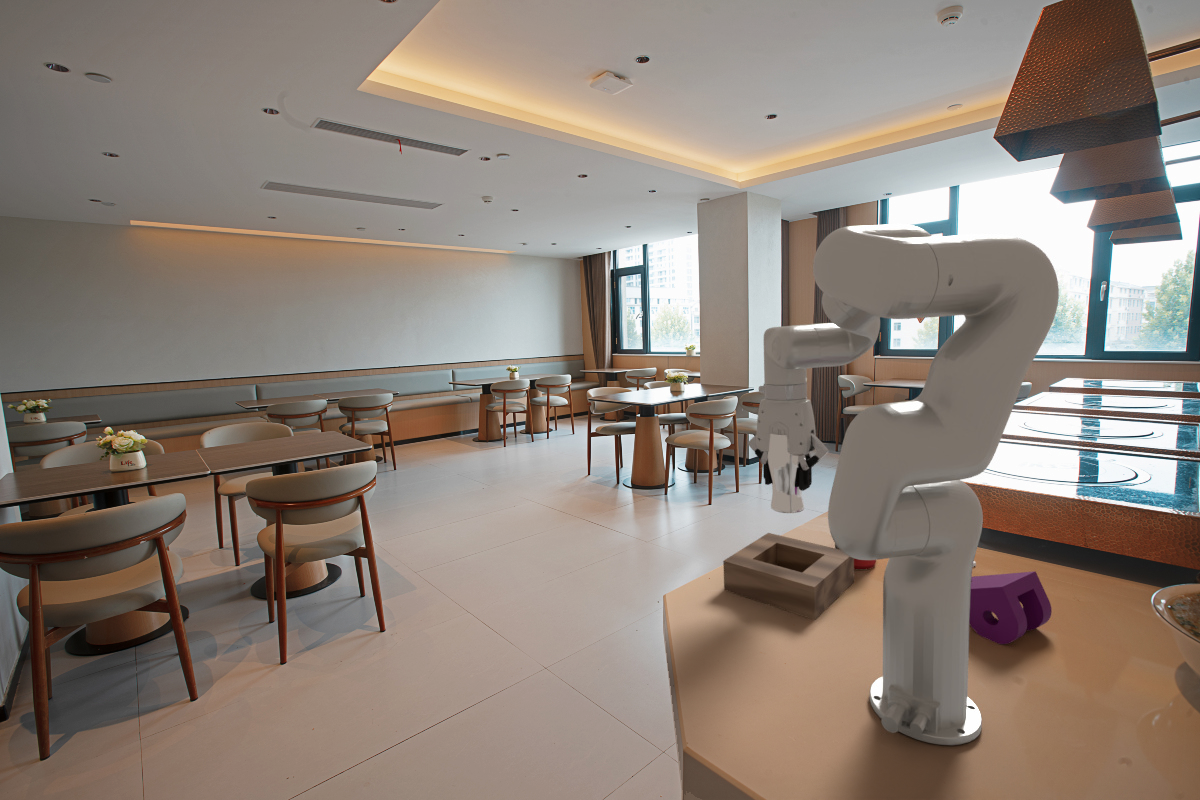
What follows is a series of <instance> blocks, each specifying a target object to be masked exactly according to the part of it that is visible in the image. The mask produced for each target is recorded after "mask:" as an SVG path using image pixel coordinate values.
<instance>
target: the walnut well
mask: <svg viewBox="0 0 1200 800" xmlns="http://www.w3.org/2000/svg"><path fill="white" fill-rule="evenodd" d="M722 562H723V564H722V565H723V587H724V588H723V590H724V591H726V592H729V593H732V594H736V595H739V596H741V597H745V598H747V599H750V600H753V601H757V602H759V601H760V603H763V604H765V605H768V606H770V607H774V608H776V609H777V608H778V609H780V610H783V611H786V612H790V613H792V614H795V615H798V616H802V617H804V618H805V617H806V618H808V619H811V620H815V621H816V620H817V619H818V618H819V617H820V616H821V614H823V613H824V612H825V611H826V610H827V609H828V608H829V607H830V606H831V605H832V604H833V603H835V601H836V600H837V599H838V598H839V597H840V596H841V595H843V593H844V592H845V591H847V590H848V589H849V587H850V586H852V584H854V583H855V569H854V558H852V557H850V556H848V555H846V554H845V553H843V552H842V551H841V550H840V549H836V548H835V547H831V546H827V545H823V544H818V543H814V542H809V541H806V540H800V539H798V538H797V539H796V538H792V537H788V536H785V535H784V536H783V535H780V534H775V533H772V532H771V533H770V532H767V533H766V534H764V535H763V536H761V537H759V538H758V539H756V540H754V541H753V542H751V543H750V544H748V545H746V546H744V547H742V549H740V550H738V551H737V552H735V553H734V554H731V555H730V556H729V557H727V558H725V559H724V560H723V561H722Z"/></svg>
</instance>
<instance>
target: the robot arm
mask: <svg viewBox="0 0 1200 800" xmlns="http://www.w3.org/2000/svg"><path fill="white" fill-rule="evenodd" d="M812 263H813V264H812V266H813V267H812V272H813V277H814V281H815V284H816V285H817V287H818V288H819V290H821V291H822V297H821V306H822V309H823V312H824V313H825V315H826V317H827V318H828V319H829V321H831V322H825V323H824V322H823V323H810V324H797V325H796V324H795V325H787V326H785V325H783V326H772V327H769V328H767V329H766V330H765V331H764V333H763V371H764V372H763V374H764V376H763V377H764V383H763V385H760V386H758V392H759V393H761V394H763V398H764V399H761V400H760V403H759V406H758V412H757V419H756V420H757V421H756V433H755V435H754V436H753V437H751V439H750V440H749V441H748V442H747V445H748V447H750V448H751V450H752V451H753V452H754V454H755V455H756V457H757V458H758V459H759V460H760V463H761V465H763V466H762V467H763V468H762V470H763V479H764V484H765V485H767V486H768V485H769V486H770V485H772V482H771V477H770V472H769V467H768V461H767V452H769V442H770V433H771V434H779V435H787V439H788V440H787V441H788V446H789V454H791V455H793V456H799V462H800V464H801V469H800V470H799V489H800V490H801V492H803V491H806V490H807V489H809V488H810V487H811V485H812V482H813V481H812V479H813V478H812V477H813V475H812V471H813V469H812V468H813V467H815V465H816V464H817V463H819V462H820V461H821V460H822V459H823V458H824V457H825V456H826V455H828V454H829V452H830V450H829V449H828V447H827V445H825V444H824V443H823V442H822V441H821V440H820V439H819V438H818V436H816V435H817V434H816V432H817V431H816V424H815V416H814V410H813V405H812V401H811V399H808V382H807V381H808V374H807V373H808V370H807V369H812V368H813V369H814V368H826V367H827V368H829V367H832V368H833V367H840V366H845V365H848V364H850V363H853V362H854V361H856V360H857V359H859V358H861V357H863V355H865V353H867V352H868V351H870V349H872V348H873V346H874V345H875V344H876V341H877V339H878V336H879V333H880V329H881V318H883V319H891V320H909V319H923V318H927V319H928V318H937V317H938V318H940V317H941V318H942V317H953V316H964V318H965V321H964V322H963V324H961V325H960V326H959V327H958V328H957V329H956V330H955V331H954V332H953V333H952V334H951V335H950V336H949V337H948V338H947V339H946V341H944V343H943V344H942V345H941V346H940V348H939V349H938V351H937V352H936V354H935V355H934V357H933V359H932V360H931V363H930V365H929V369H928V372H927V376H926V379H925V382H924V385H923V388H922V390H921V392H920V394H919V395H918V396H916V397H915V398H914V399H911V400H907V401H899V402H896V401H895V402H887V403H879V404H876V405H872V406H869V407H867V408H865V409H863V410H862V411H860V412H859V413H857V415H855V417H854V418H853V419H852V421H851V422H850V423H849V425H848V427H847V428H846V431H845V434H844V437H843V441H842V446H841V448H840V454H839V457H838V461H837V466H836V470H835V474H834V478H833V483H832V487H831V491H830V496H829V502H828V508H827V521H828V523H827V524H828V528H829V533H830V537H831V539H832V540H833V542H834V545H835V544H836V545H837V547H838V548H839V549H840V550H841V551H842V552H843V553H845V554H846V555H848V556H850V557H852V558H855V559H859V560H876V561H878V560H886V559H888V561H887V564H886V566H885V570H884V575H883V581H882V676H880V677H877V678H876V679H875V680H874V681H873V682H872V683H871V685H870V687H869V702H870V705H871V707H872V709H873V711H874V712H875V714H876V715H877V716H878V717H879V718H880V719H881V721H880V722H881V725H882V727H883V729H885V730H886V731H887V732H889V733H891V734H895V733H898V732H900V733H901V734H903V735H906V736H908V737H910V738H913V739H915V740H916V741H917V740H918V741H921V742H924V743H928V744H934V745H938V746H939V745H941V746H942V745H943V746H956V745H962V744H963V745H964V744H966V743H970V742H972V741H974V740H975V739H976V738H978V737H979V735H980V734H981V731H982V726H983V718H982V713H981V711H980V710H979V708H978V706H977V705H976V703H974V701H973V700H972V699H971V698H969V697H968V693H969V692H968V691H969V689H968V688H969V686H968V685H969V657H970V656H969V653H970V651H969V649H970V648H969V647H970V624H969V618H970V593H971V577H973V568H974V567H973V562H974V561H975V556H976V553H977V549H978V546H979V543H980V539H981V535H982V530H983V523H984V521H983V520H984V519H983V518H984V516H983V509H982V505H981V502H980V499H979V497H978V496H977V494H976V493H975V491H974V490H973V489H972V487H970V486H969V485H968V484H967V483H966V482H964V481H963V480H965V479H969V478H973V477H976V476H979V475H980V474H982V473H983V472H985V470H987V468H988V467H989V465H990V463H991V461H992V460H993V458H994V456H995V454H996V451H997V449H998V446H999V444H1000V442H1001V439H1002V437H1003V434H1004V431H1005V428H1006V427H1007V423H1008V421H1009V419H1010V417H1011V414H1012V411H1013V408H1014V406H1015V404H1016V401H1017V399H1018V396H1019V393H1020V391H1021V387H1022V384H1023V383H1024V380H1025V377H1026V375H1027V373H1028V371H1029V370H1030V367H1031V365H1032V364H1033V361H1034V359H1035V358H1036V355H1037V354H1038V352H1039V350H1040V348H1041V347H1042V345H1043V343H1044V342H1045V340H1046V337H1047V335H1048V334H1049V332H1050V330H1051V327H1052V325H1053V322H1054V320H1055V316H1056V314H1057V309H1058V304H1059V296H1060V295H1059V293H1060V292H1059V291H1060V290H1059V289H1060V288H1059V281H1058V276H1057V274H1056V270H1055V268H1054V265H1053V263H1052V262H1051V260H1050V258H1049V257H1048V255H1047V254H1046V253H1045V252H1044V251H1043V250H1042V249H1041V248H1039V247H1038V246H1037V245H1035V244H1034V243H1032V242H1030V241H1028V240H1026V239H1022V238H1019V237H1015V236H1009V235H1004V234H963V235H961V234H960V235H959V234H958V235H947V236H945V235H944V236H932V234H930V233H929V232H928V231H927V230H925V229H923V228H921V227H919V226H915V225H912V224H911V225H910V224H901V223H900V224H899V223H897V224H895V223H894V224H892V223H891V224H873V225H872V224H871V225H870V224H869V225H849V226H843V227H840V228H837V229H835V230H833V231H831V232H830V233H828V234H827V236H826V237H825V238H824V239H823V240H822V241H821V242H820V244H819V246H818V247H817V249H816V252H815V255H814V257H813V262H812ZM815 450H816V452H815V454H814V455H813V456H812V454H811V453H810V452H814V451H815Z"/></svg>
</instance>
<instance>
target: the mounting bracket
mask: <svg viewBox="0 0 1200 800" xmlns="http://www.w3.org/2000/svg"><path fill="white" fill-rule="evenodd" d="M994 615H995V616H994ZM1051 617H1052V605H1051V602H1050V599H1049V598H1048V595H1047V593H1046V591H1045V588H1044V587H1043V585H1042V582H1041V580H1040V577H1039V576H1038V574H1037V571H1025V572H1023V571H1022V572H1013V573H1011V572H1010V573H1001V574H999V573H998V574H990V575H989V574H986V575H977V576H972V577H971V593H970V618H969V626H970V627H971V628H972V629H973V630H974V631H975V633H976V634H977V635H979V636H980V637H982V638H984V639H987V640H989V641H991V642H994V643H995V644H998V645H1008V644H1011V643H1012V642H1014V641H1016V640H1018V639H1019V638H1021V637H1023V636H1024V635H1025V633H1026V631H1027V632H1028V631H1033V630H1035V629H1038V628H1040V627H1041V626H1043V625H1045V624H1046V623H1047V622H1049V621H1050V619H1051Z"/></svg>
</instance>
